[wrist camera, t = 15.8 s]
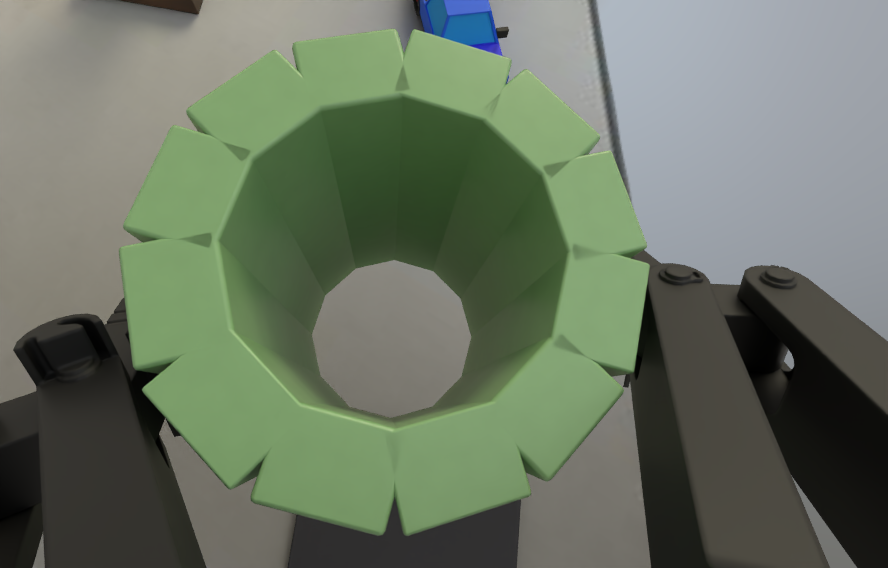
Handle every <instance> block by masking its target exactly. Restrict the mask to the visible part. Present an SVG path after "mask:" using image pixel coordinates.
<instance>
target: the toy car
mask: <svg viewBox="0 0 888 568" xmlns="http://www.w3.org/2000/svg"><path fill="white" fill-rule="evenodd" d="M413 1H414V7H415V11H416V14H417V15H420V16H421V19H422V23H423V27H424V31H425V32H426V33H429V34H432V35H435V36H439V37H442V38H445V39H448V40H451V41H455V42H458V43H461V44H464V45H468V46H471V47H474V48H477V49H481V50H484V51H487V52H490V53H494V54H497V55H500V56H502V52H501V49H500V46H499V42H498V38H506V37H507V35H508V31H509V29H508V27H501V28H496V29H495V24H494V20H493V16H492V11H491V8H490V4H489V1H488V0H413ZM508 78H509V75H508ZM508 78H507V81H508ZM506 84H507V82H506Z"/></svg>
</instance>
